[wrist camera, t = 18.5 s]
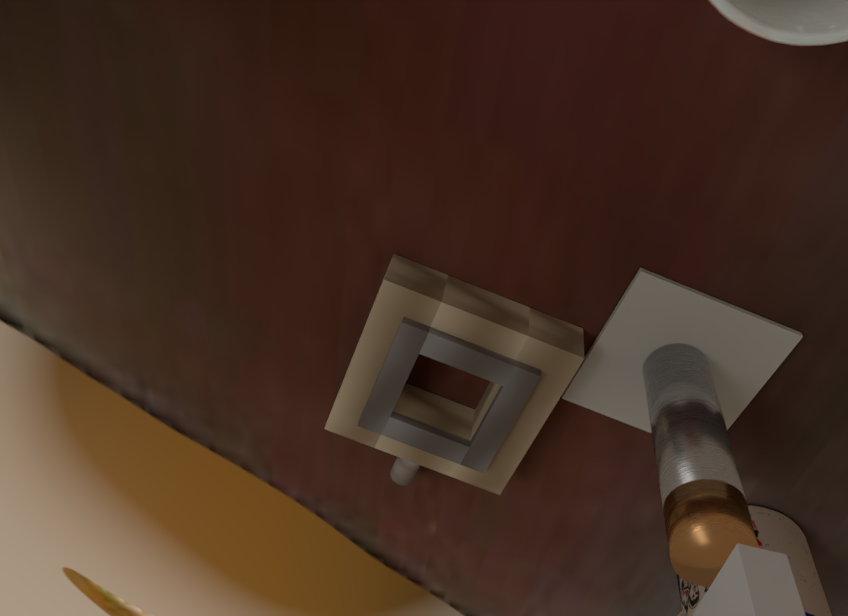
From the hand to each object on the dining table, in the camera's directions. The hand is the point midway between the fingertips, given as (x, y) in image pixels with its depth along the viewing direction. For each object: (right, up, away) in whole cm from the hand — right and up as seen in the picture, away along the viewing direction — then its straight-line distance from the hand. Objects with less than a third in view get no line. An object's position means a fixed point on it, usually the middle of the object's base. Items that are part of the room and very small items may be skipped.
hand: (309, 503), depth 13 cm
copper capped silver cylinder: (+17, 0, +34) cm, 38 cm away
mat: (+17, 0, +34) cm, 38 cm away
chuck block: (+3, -2, +37) cm, 38 cm away
